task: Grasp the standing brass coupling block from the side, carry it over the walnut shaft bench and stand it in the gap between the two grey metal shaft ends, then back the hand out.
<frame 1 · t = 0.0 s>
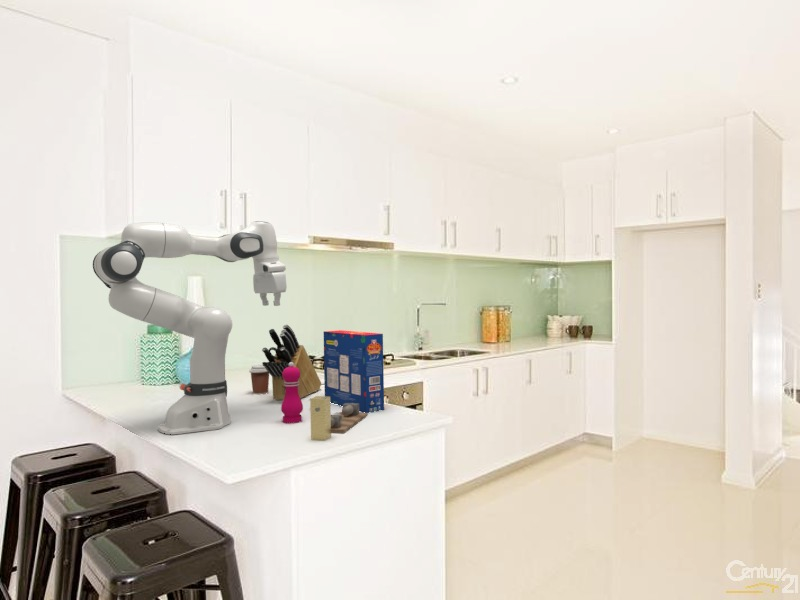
hand: (271, 305, 194), 39 cm above the countertop, tool pointing down, fingers open, 8 cm apart
pepper mill: (292, 421, 183), on the countertop
knife block: (293, 397, 225), on the countertop
pasta box: (353, 406, 206), on the countertop
shaft bench: (342, 423, 178), on the countertop
coffee cup: (260, 393, 235), on the countertop
coupling block: (321, 437, 161), on the countertop
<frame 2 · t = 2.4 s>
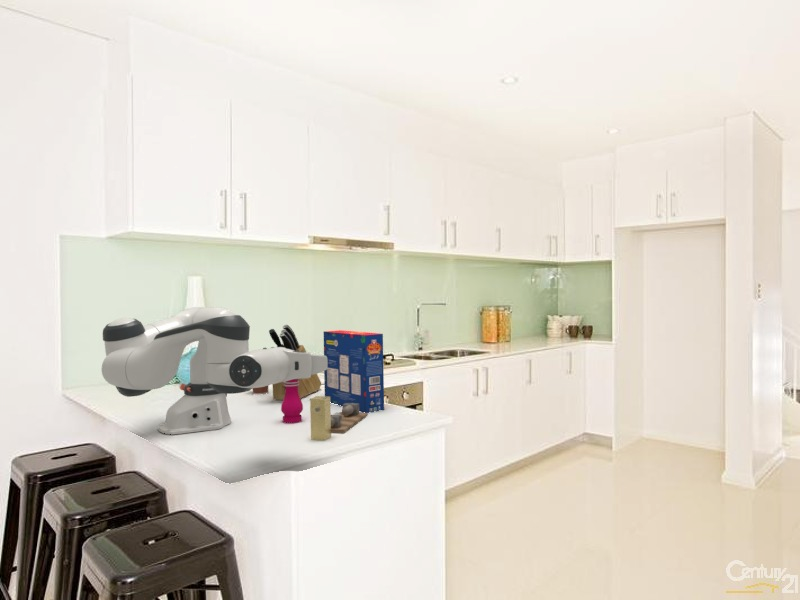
hand: (300, 360, 149), 25 cm above the countertop, tool horizontal, fingers open, 8 cm apart
nothing on the countertop moved.
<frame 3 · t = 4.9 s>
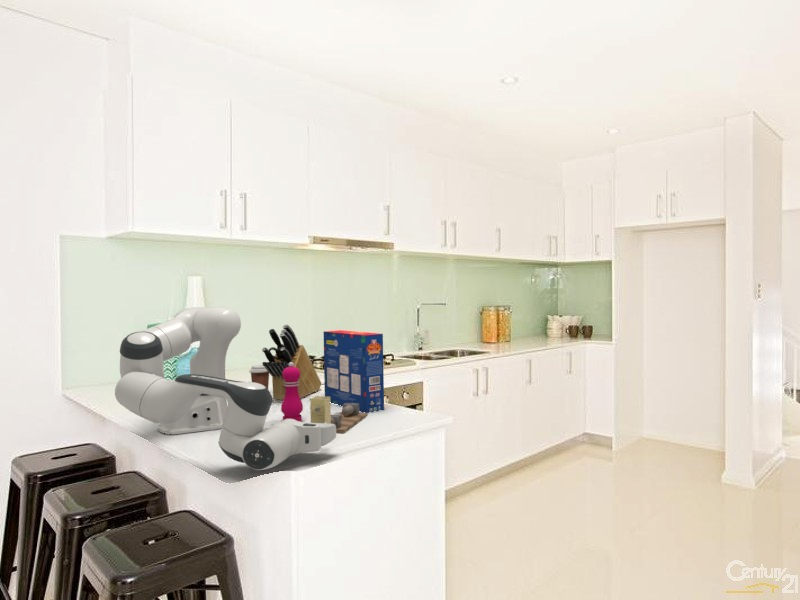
hand: (309, 424, 152), 6 cm above the countertop, tool horizontal, fingers open, 8 cm apart
nothing on the countertop moved.
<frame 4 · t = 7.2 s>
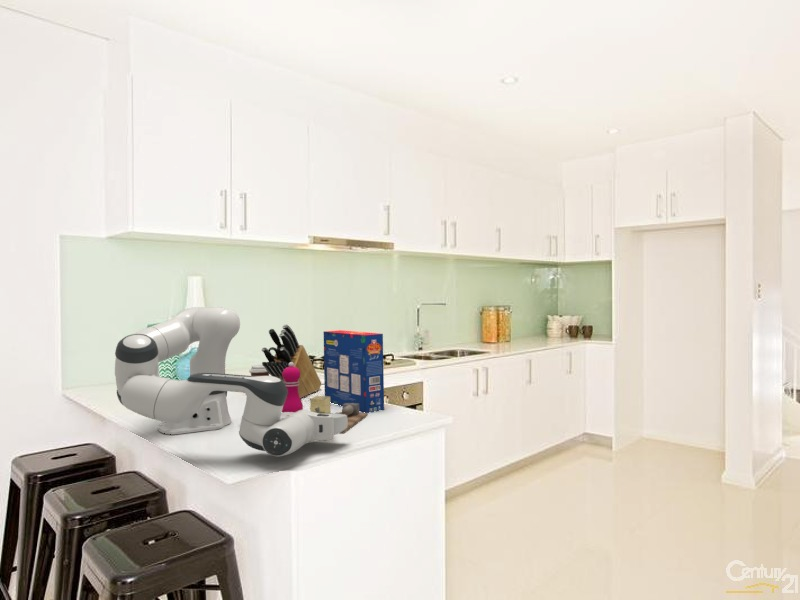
hand: (321, 415, 162), 7 cm above the countertop, tool horizontal, fingers closed on coupling block, 4 cm apart
coupling block: (321, 437, 161), on the countertop, touching gripper
everything else where it was.
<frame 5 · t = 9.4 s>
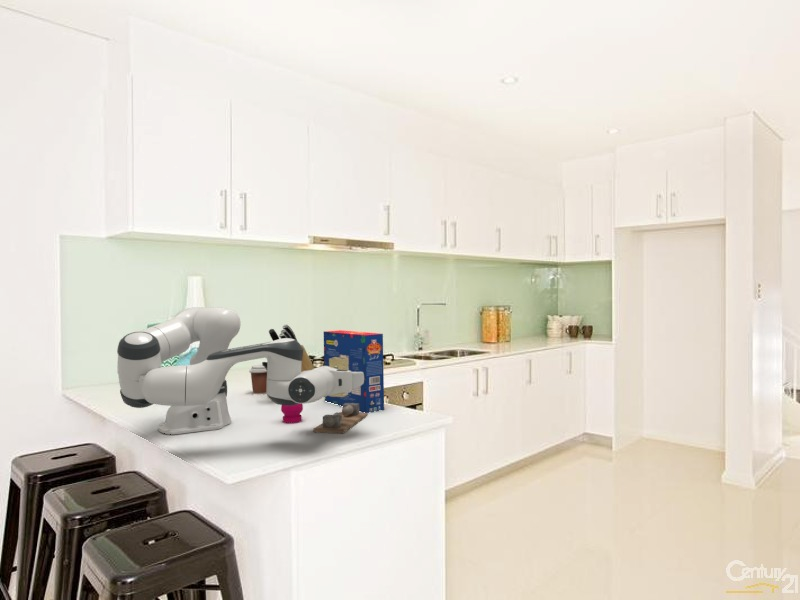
hand: (339, 374, 175), 17 cm above the countertop, tool horizontal, fingers closed on coupling block, 4 cm apart
coupling block: (339, 395, 174), point 10 cm above the countertop, touching gripper
everything else where it was.
when the fingers open (9 cm above the countertop, at t = 11.7 s): coupling block drops 1 cm, resting on shaft bench.
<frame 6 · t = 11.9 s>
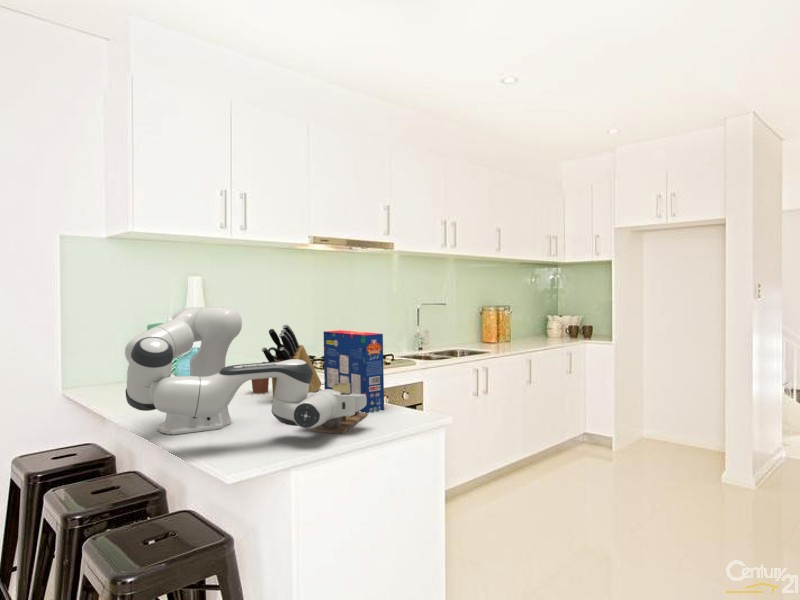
hand: (342, 395, 179), 9 cm above the countertop, tool horizontal, fingers open, 7 cm apart
coupling block: (342, 420, 178), point 1 cm above the countertop, touching shaft bench
everything else where it was.
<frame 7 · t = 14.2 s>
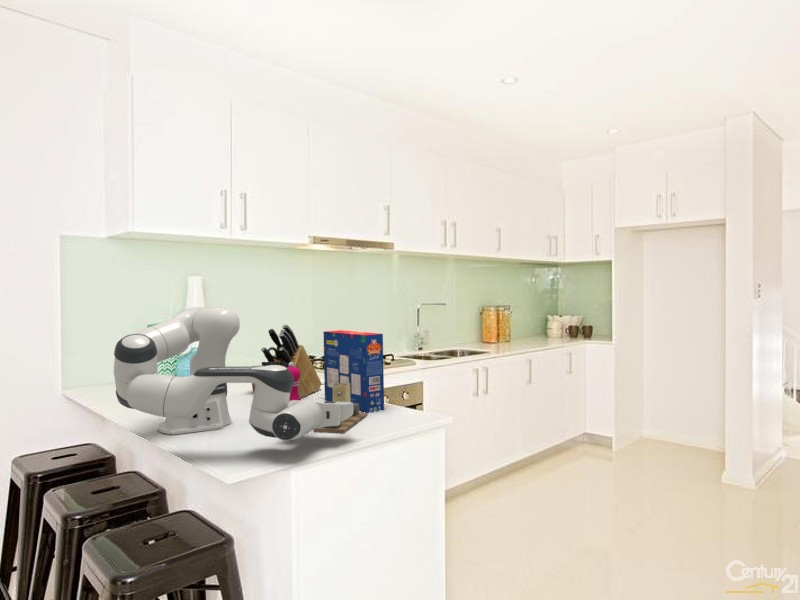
hand: (328, 403, 167), 9 cm above the countertop, tool horizontal, fingers open, 8 cm apart
nothing on the countertop moved.
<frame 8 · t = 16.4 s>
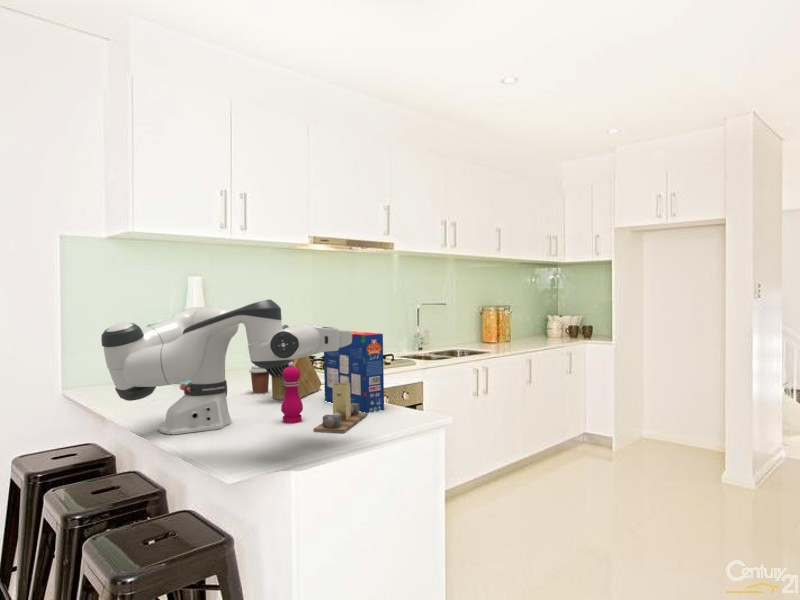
hand: (326, 335, 166), 30 cm above the countertop, tool horizontal, fingers open, 8 cm apart
nothing on the countertop moved.
at the end: coupling block 0.1 cm from the shaft bench (horizontally); coupling block tilted 0°; coupling block point 1.0 cm above the countertop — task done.
